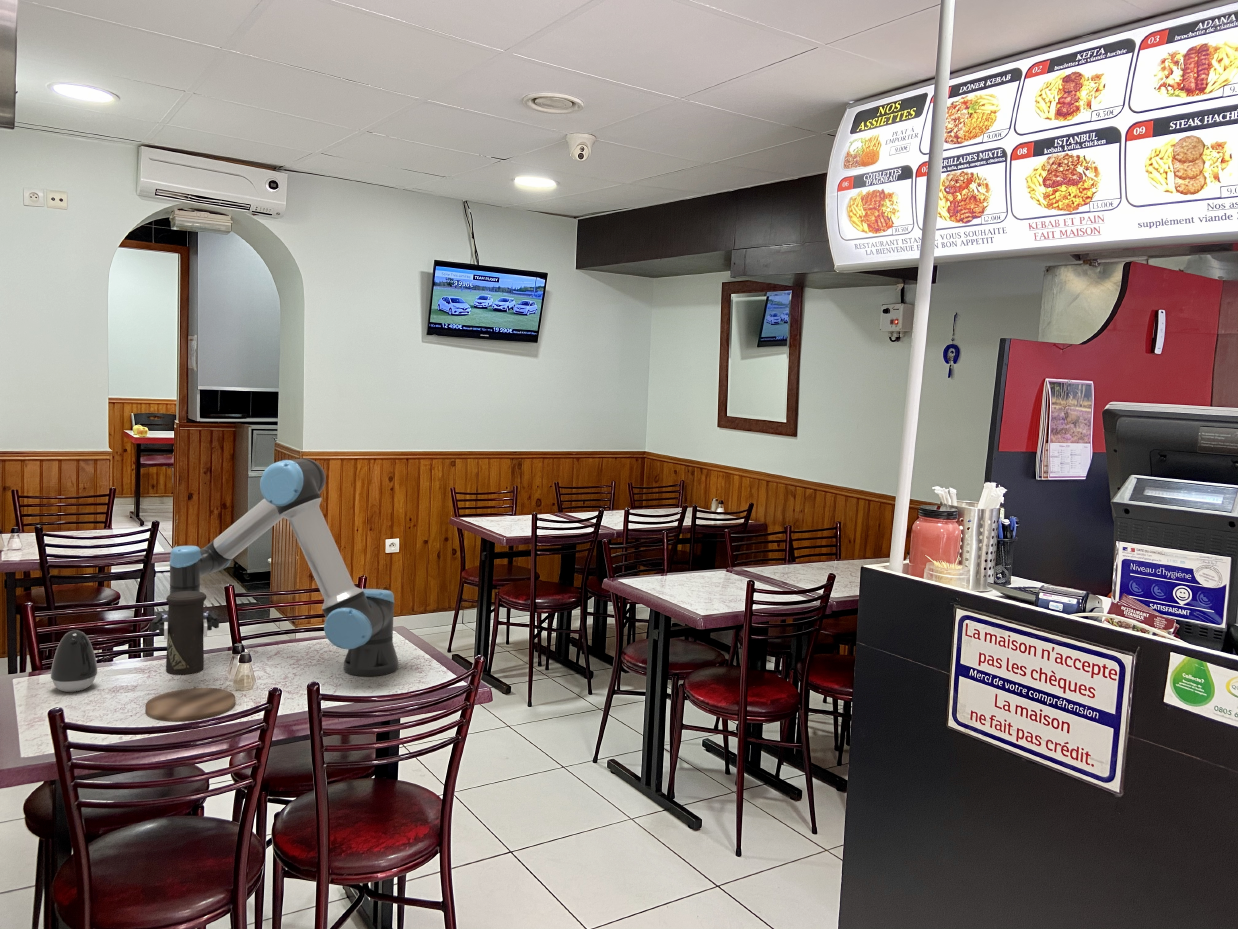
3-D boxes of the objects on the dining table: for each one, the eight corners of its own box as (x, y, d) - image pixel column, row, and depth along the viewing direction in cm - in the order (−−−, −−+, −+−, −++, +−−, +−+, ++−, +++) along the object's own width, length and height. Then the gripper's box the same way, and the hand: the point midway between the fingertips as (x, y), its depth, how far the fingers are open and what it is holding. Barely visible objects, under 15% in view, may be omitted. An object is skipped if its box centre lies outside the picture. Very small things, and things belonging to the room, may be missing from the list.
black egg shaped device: (48, 697, 220) (48, 637, 219) (52, 684, 229) (53, 627, 228) (96, 693, 225) (96, 634, 224) (98, 680, 234) (98, 624, 233)
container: (166, 667, 224) (167, 589, 222) (205, 664, 227) (207, 588, 226) (163, 677, 216) (164, 596, 214) (204, 675, 219) (205, 595, 218)
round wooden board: (251, 697, 227) (251, 691, 227) (204, 725, 207) (204, 718, 207) (179, 690, 230) (179, 684, 230) (126, 717, 210) (126, 710, 210)
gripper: (227, 622, 242) (232, 644, 221) (140, 627, 232) (137, 651, 212) (227, 595, 241) (232, 614, 221) (140, 599, 232) (137, 620, 211)
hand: (185, 632), depth 216 cm, fingers closed on container, 8 cm apart
